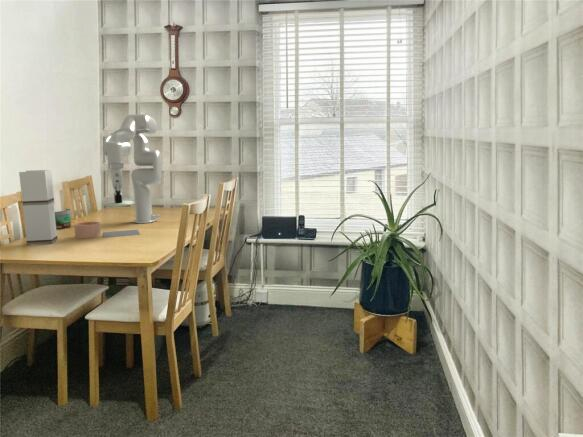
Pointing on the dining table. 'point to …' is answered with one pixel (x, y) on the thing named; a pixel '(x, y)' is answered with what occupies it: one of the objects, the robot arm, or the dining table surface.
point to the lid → (113, 203)
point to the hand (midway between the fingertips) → (118, 201)
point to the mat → (120, 233)
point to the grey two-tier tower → (38, 206)
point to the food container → (63, 219)
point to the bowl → (87, 229)
